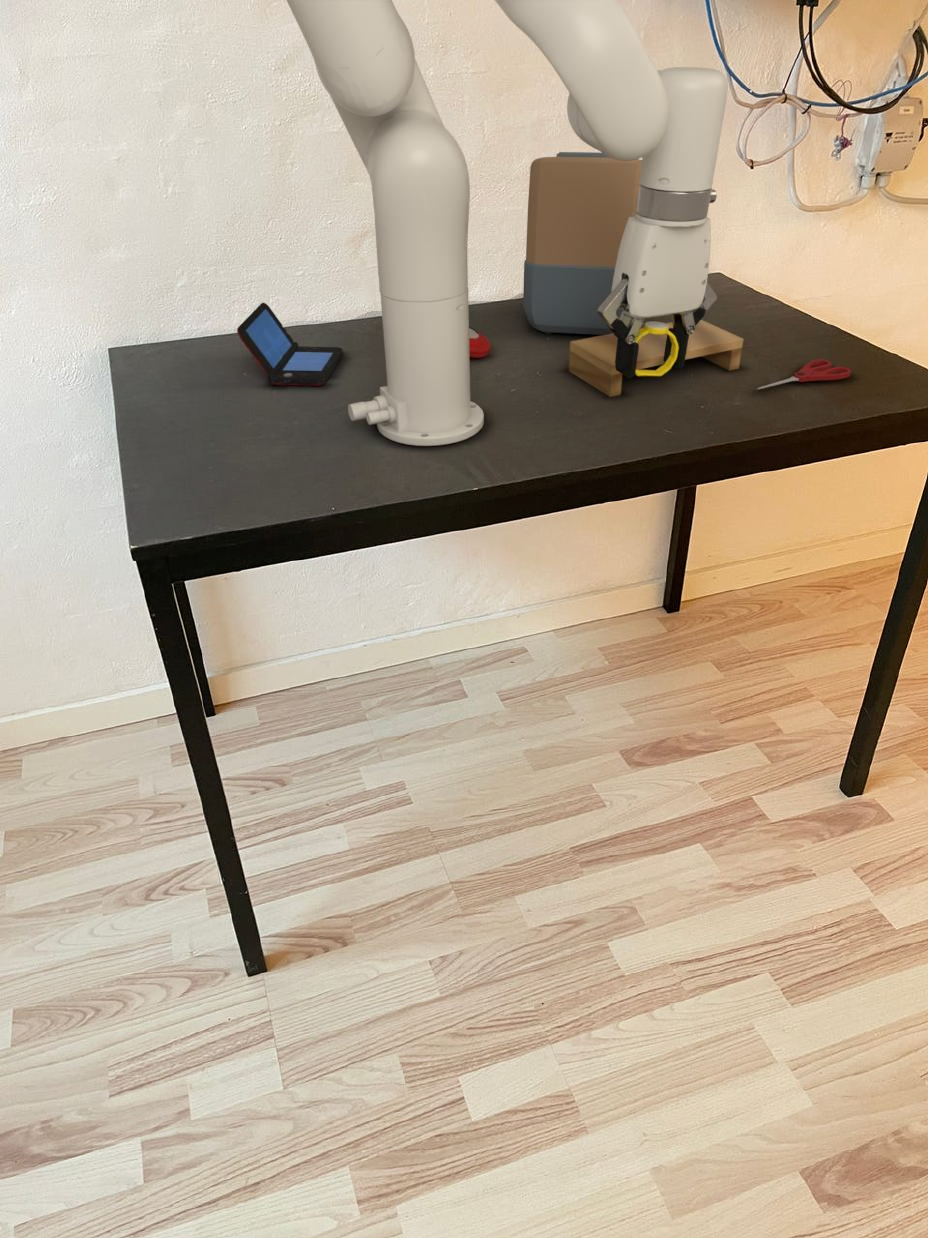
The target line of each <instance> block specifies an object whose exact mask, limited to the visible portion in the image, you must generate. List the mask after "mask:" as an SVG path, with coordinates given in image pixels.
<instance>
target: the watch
mask: <svg viewBox="0 0 928 1238" xmlns="http://www.w3.org/2000/svg"><path fill="white" fill-rule="evenodd" d="M665 323H666V322H661V321H655V320H654V321H653V320H652V321H646V322H645V323H644V326H643V327H641V328H642V329H640V331H639V333H638V335H637V337H636V339H635V342H636V343H637V342H638V341H639V340H640V339H641V337H643V336H645V335H647V334H649V333H651V334H659V335H661V334H666V333H667V334H668V335H669V337H670V340H671V343H672V347H671V354H670V356H669V358H668V359H667V361H666V362H665V364H662V365H660V366H659V367H658V368H657V369H638V370H636V372H635V376H637V377H662V376H664V375H665V374H667V373H668V372H669V371H670V370H671V369H672V367H673V364H674V363H675V361H676V358H677V355H678V349H679V347H678V343H677V340H676V337H675V335H673V334H672V333H671V332H670V331H669V326H668V325H667V324H665Z"/></svg>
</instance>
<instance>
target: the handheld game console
mask: <svg viewBox="0 0 928 1238" xmlns="http://www.w3.org/2000/svg"><path fill="white" fill-rule="evenodd" d="M236 332H237V335H238V338H239V339H240V341H241V342H242V343H243V344H244V345H245V347H246V348H247V350H248V351H249V352H250V354H251V355H252V356H253V358H254V359H255V361H256V362H257V363H258V365H259V366H260V367H261V368H262V370H263V371H264V372H265V374H266V375H267V377H268V380H267V381H268V384H269V385H270V386H305V387H307V386H309V387H311V386H312V387H318V386H322V385H325V384H326V383H327V381H328V380H329V378H330V376H331V374H332V373H333V372H334V370H335V368H336V367H337V365H338V364H339V362H340V360H341V359H342V357H343V356H344V350H343V348H342V347H339V346H299V343H298V342H297V341H294V339H293V338H292V336H291V335H290V333H288V332H287V330H286V328H284V326H283V324H282V322H281V321H280V320H279V318H278V317H277V315H276V314H275V313H274V311H273V309H272V308H271V306H269V304H267V303H266V302H261V303H260V304H259V305H258V306H257V307H256V308H255V309H254V310H253V312H252V313H250V314H249V316H247V317H246V319H245V320H243V322H241V323H240V325H239V326H238V327H237V329H236Z"/></svg>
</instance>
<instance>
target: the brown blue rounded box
mask: <svg viewBox="0 0 928 1238" xmlns="http://www.w3.org/2000/svg"><path fill="white" fill-rule="evenodd" d="M641 165H642V159H640V158H639V159H637V160H632V161H619V160H615V159H612V158H610V157H608V156H607V155H605V154H603V153H602V152H595V151H594V152H589V151H587V152H586V151H585V152H583V151H582V152H581V151H559V152H558V153H556V155H555V156H543V157H538V158H535V159H534V160H533V161H531V163H530V168H529V184H528V199H527V200H528V201H527V218H526V219H527V220H526V223H527V224H526V243H525V244H526V246H525V250H526V251H525V260H524V261H523V294H522V295H523V297H522V306H523V309H524V313H525V316H526V320H527V322H528V323H529V324H530V325H531V327H532V328H533V329H534V330H537V331H540V332H542V333H544V334H547V335H552V333H559V334H576V335H577V334H579V335H597V336H602V335H607V334H612V333H613V332H612V331H611V329H610V328H609V327H608V326H607V323H606V322H604V320H603V319H602V318H601V317H600V315H599V314H598V313H597V310H598V308H599V306H600V305H601V304H602V303H603V302H604V301H605V299H606V298H607V297H608V296H609V295H610V293H611V291H612V284H613V277H614V271H615V266H616V261H617V256H618V252H619V247H620V244H621V240H622V236H623V233H624V230H625V227H626V224H627V221H628V219H629V217H634V216H635V215H636V206H637V198H638V190H639V184H640V174H641ZM622 311H623V309H617V311H616V314H617V316H618V318H620V316H621V314H622ZM632 319H633V318H631V320H630V323H629V325H628V328H629V326H630V324H631V321H632Z"/></svg>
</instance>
